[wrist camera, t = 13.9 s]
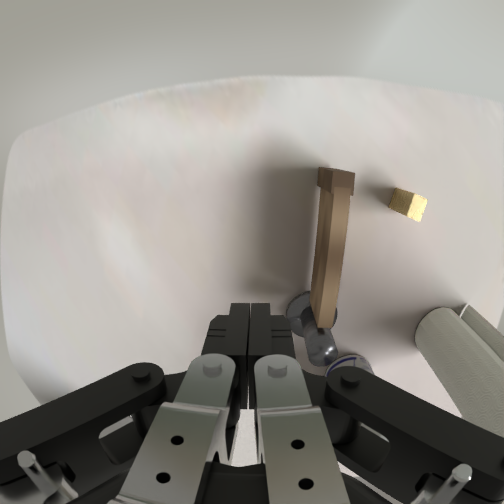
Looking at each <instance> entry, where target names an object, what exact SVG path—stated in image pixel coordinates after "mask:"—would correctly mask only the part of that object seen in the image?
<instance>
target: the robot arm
mask: <svg viewBox="0 0 504 504" xmlns="http://www.w3.org/2000/svg"><path fill="white" fill-rule="evenodd" d="M248 385H249V409H254V428H255V441H256V453H257V464H255V465H249V466H244V467H234V466H231V463H232V458H233V452H234V447H235V442H236V437H237V432H238V420H239V418H240V409H247V403H248ZM130 415H131V416H132V418H130V417H129V416H130ZM362 423H363V424H365V425H366V426H368V427H370V428H371V429H373V430H374V431H376V432H378V433H379V434H381V435H383V436H384V437H386V438H387V440H388V441H389V442H388V441H386V440H385V439H383V438H381V437H380V436H378V435H376V434H375V433H373V432H371V431H370V430H368V429H366V428H365V427H363V426H361V424H362ZM337 461H338V462H340V463H341V464H343V465H344V466H345V467H347V468H348V469H350V470H351V471H353V472H354V473H356V474H357V475H359V476H360V477H362V478H363V479H365V480H366V481H368V482H369V483H371V484H372V485H374V486H375V487H377V488H378V489H380V490H382V491H383V492H385V493H386V494H388V495H390V496H391V497H393V498H395V499H396V500H398V501H400V502H401V503H403V504H501V503H502V502H503V501H504V438H503V437H501V436H499V435H497V434H494V433H492V432H490V431H488V430H485V429H483V428H481V427H479V426H477V425H474V424H472V423H470V422H468V421H466V420H463V419H461V418H459V417H457V416H455V415H453V414H451V413H449V412H447V411H445V410H443V409H441V408H438V407H436V406H434V405H432V404H430V403H428V402H426V401H424V400H422V399H420V398H418V397H416V396H414V395H412V394H410V393H408V392H406V391H404V390H402V389H400V388H398V387H396V386H395V385H393V384H391V383H389V382H387V381H385V380H383V379H381V378H379V377H377V376H375V375H373V374H372V373H370V372H368V371H366V370H364V369H362V368H359V367H355V366H342V367H338V368H335V369H333V370H332V371H331V372H330V373H329V374H328V376H327V377H324V376H318V375H314V374H310V373H308V372H306V371H304V370H303V369H301V366H300V364H299V363H298V361H297V360H296V357H295V351H294V344H293V338H292V332H291V326H290V322H289V321H288V320H287V319H286V318H285V317H284V316H283V315H270V303H251V318H250V303H231V307H230V313H229V315H217V316H216V317H215V318H214V319H213V320H212V321H211V322H210V325H209V329H208V332H207V337H206V339H205V343H204V346H203V350H202V353H201V356H199V357H197V358H196V359H194V360H193V361H192V362H191V364H190V366H189V368H188V370H187V371H185V372H182V373H177V374H169V375H164V372H163V370H162V368H160V367H159V366H158V365H156V364H153V363H146V362H143V363H136V364H132V365H130V366H128V367H126V368H124V369H121V370H119V371H117V372H115V373H113V374H111V375H109V376H107V377H104V378H102V379H100V380H98V381H96V382H94V383H91V384H89V385H87V386H85V387H83V388H80V389H78V390H76V391H74V392H71V393H69V394H67V395H65V396H62V397H60V398H58V399H55V400H53V401H51V402H49V403H46V404H44V405H42V406H40V407H37V408H35V409H32V410H30V411H27V412H25V413H23V414H20V415H18V416H15V417H13V418H10V419H8V420H5V421H3V422H0V504H392V503H391V502H389V501H387V500H386V499H385V498H383V497H382V496H380V495H379V494H378V493H376V492H375V491H373V490H372V489H370V488H369V487H368V486H366V485H365V484H363V483H362V482H360V481H358V480H357V479H355V478H353V477H352V476H349V475H347V474H345V473H342V472H340V468H339V465H338V462H337Z"/></svg>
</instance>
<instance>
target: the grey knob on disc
mask: <svg viewBox="0 0 504 504" xmlns="http://www.w3.org/2000/svg"><path fill="white" fill-rule="evenodd" d="M309 299H310V291H308V292H304V293H302V294H300V295H298V296H297V297H295V298H294V299H293V300H292V301H291V303H290V304H289V306H288V309H287V315H286V316H287V320H288V321H289V322H290V326H291V330H292V331H293V332H294V333H295V334H297V335H298V336H301V337H304V338H305V343H306V348H307V352H308V357H309V361H310V362H311V363H312V364H313V365H315V366H327V365H329V364H331V363H332V362H334V361H335V359H336V358H337V355H338V350H337V347H336V345H335V342H334V339H333V336H332V333H331V331H330V329H331V328H318V327H317V324H316V320H315V317H314V314H313V310H312V307H311V304H310V301H309ZM336 319H337V308H336V309H335V315H334V321H333V325H334V324H335V322H336ZM332 327H333V326H332Z"/></svg>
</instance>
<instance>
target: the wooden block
mask: <svg viewBox="0 0 504 504" xmlns="http://www.w3.org/2000/svg"><path fill="white" fill-rule="evenodd" d="M354 179H355V173H353V172H349V171H344V170H340V169H333V168H322V167H319V170H318V184H317V186H319V187H321V190H320V202H319V214H318V226H317V236H316V246H315V256H314V265H313V274H312V282H311V291H310V299H309V301H310V304H311V307H312V310H313V314H314V317H315V320H316V324H317V327H318V328H332V326H333V321H334V315H335V309H336V303H337V297H338V291H339V284H340V278H341V271H342V264H343V256H344V249H345V241H346V233H347V224H348V215H349V205H350V195H352V196H353V191H354Z"/></svg>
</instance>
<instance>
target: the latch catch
mask: <svg viewBox="0 0 504 504" xmlns="http://www.w3.org/2000/svg"><path fill="white" fill-rule="evenodd" d="M426 203H427V199H425V198H423V197H421V196H419V195H417V194H415V193H411V192H408V191H405V190H402V189H399V188H395V191H394V194H393V197H392V200H391V202H390V205H389V208H391V209H393V210H395V211H397V212H399V213H401V214H403V215H405V216H407V217H410V218H412V219H414V220H417V221H419V222H420V220H421V217H422V214H423V211H424V209H425V206H426Z"/></svg>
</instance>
